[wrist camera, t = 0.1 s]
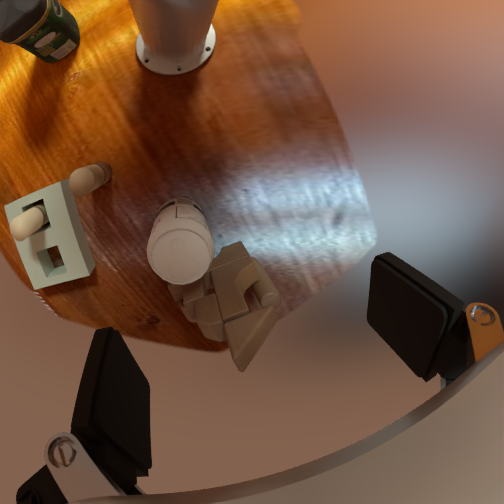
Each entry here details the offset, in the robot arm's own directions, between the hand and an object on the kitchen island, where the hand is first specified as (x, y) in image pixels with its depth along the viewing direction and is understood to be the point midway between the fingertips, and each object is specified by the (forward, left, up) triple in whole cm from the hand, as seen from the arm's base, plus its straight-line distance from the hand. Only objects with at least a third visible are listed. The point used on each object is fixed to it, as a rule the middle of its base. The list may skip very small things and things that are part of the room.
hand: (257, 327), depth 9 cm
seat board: (+2, -27, -37) cm, 46 cm away
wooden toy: (+16, 0, -37) cm, 40 cm away
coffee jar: (-32, -20, -37) cm, 53 cm away
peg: (-5, -15, -37) cm, 40 cm away
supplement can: (+6, -4, -37) cm, 38 cm away
